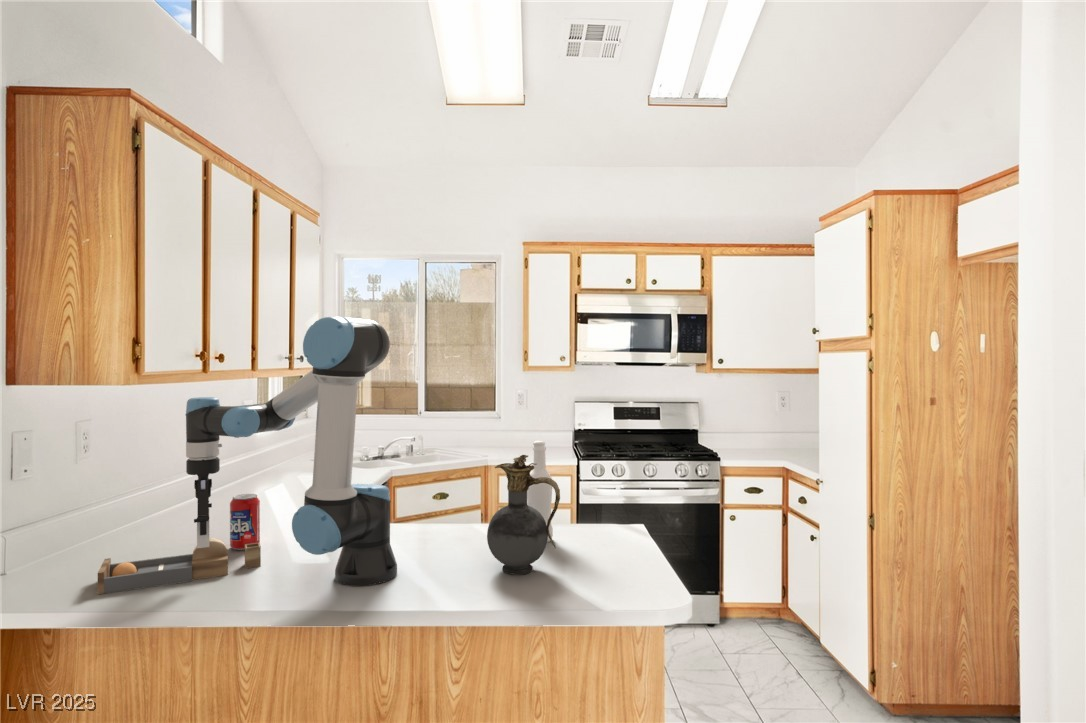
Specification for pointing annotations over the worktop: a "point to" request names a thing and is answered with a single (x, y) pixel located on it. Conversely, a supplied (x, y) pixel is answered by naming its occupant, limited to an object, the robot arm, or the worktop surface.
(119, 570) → the ball
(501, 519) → the pitcher
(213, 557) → the tan rounded block
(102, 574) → the backstop
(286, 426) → the robot arm
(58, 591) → the worktop surface
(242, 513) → the soda can
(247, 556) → the hollow wooden sleeve
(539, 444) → the bottle
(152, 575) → the tray
